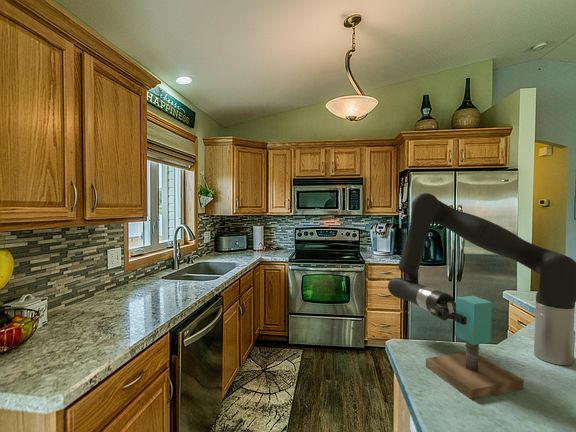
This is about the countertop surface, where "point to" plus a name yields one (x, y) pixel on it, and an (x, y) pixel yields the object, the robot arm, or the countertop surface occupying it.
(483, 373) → the post stand
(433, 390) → the countertop surface
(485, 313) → the tall teal pillar
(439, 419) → the countertop surface
